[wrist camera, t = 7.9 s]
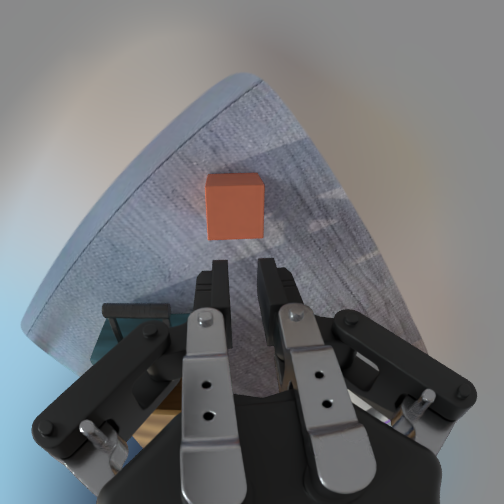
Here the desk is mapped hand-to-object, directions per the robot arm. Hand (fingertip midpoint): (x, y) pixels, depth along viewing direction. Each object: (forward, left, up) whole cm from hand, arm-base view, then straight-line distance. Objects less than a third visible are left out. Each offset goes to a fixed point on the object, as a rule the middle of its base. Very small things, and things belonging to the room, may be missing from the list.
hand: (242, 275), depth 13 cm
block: (0, 0, -13) cm, 13 cm away
